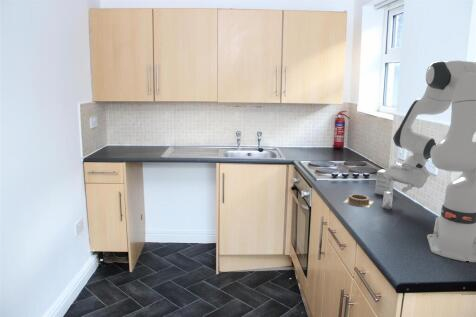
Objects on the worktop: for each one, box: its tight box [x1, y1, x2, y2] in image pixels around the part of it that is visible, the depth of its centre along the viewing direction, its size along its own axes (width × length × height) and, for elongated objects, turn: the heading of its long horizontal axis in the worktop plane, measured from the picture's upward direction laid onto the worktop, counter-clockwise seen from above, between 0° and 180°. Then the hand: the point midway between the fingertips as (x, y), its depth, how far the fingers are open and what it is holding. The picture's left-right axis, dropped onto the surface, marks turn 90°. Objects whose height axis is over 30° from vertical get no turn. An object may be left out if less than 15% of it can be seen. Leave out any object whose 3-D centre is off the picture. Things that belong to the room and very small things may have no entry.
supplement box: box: [374, 169, 395, 196], centre depth 201 cm, size 7×7×13 cm
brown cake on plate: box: [342, 193, 374, 208], centre depth 184 cm, size 12×12×4 cm
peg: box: [382, 191, 394, 210], centre depth 177 cm, size 4×4×8 cm
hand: (395, 188), depth 178 cm, fingers open, 8 cm apart
